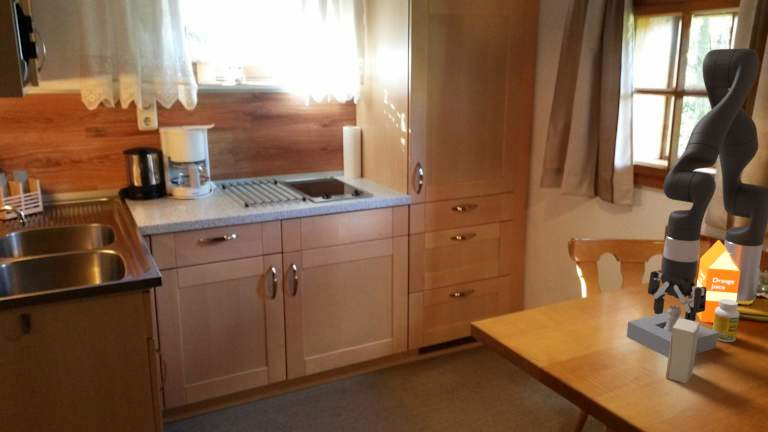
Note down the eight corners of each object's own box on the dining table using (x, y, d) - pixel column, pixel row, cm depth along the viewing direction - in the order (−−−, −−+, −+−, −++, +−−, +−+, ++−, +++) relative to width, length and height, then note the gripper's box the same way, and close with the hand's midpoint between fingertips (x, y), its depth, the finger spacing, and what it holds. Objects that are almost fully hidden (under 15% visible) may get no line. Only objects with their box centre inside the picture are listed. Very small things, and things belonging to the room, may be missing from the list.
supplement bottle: (718, 331, 159) (724, 295, 157) (740, 339, 155) (745, 302, 152) (706, 336, 156) (711, 300, 154) (728, 344, 152) (733, 307, 150)
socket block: (666, 325, 162) (668, 311, 161) (715, 348, 150) (717, 332, 149) (626, 336, 156) (628, 321, 155) (674, 360, 144) (676, 344, 143)
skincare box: (672, 367, 141) (678, 316, 138) (693, 373, 139) (700, 321, 136) (665, 378, 136) (671, 326, 133) (687, 384, 134) (694, 332, 131)
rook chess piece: (678, 344, 150) (683, 313, 148) (658, 339, 153) (662, 308, 150) (682, 336, 154) (686, 306, 151) (662, 332, 156) (666, 302, 154)
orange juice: (724, 311, 171) (734, 240, 166) (733, 324, 163) (744, 250, 158) (693, 308, 173) (702, 238, 168) (700, 321, 165) (710, 248, 160)
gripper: (719, 262, 143) (709, 328, 147) (666, 245, 155) (659, 306, 160) (696, 266, 140) (687, 334, 144) (644, 249, 152) (638, 311, 156)
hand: (672, 319), depth 152 cm, fingers open, 8 cm apart
